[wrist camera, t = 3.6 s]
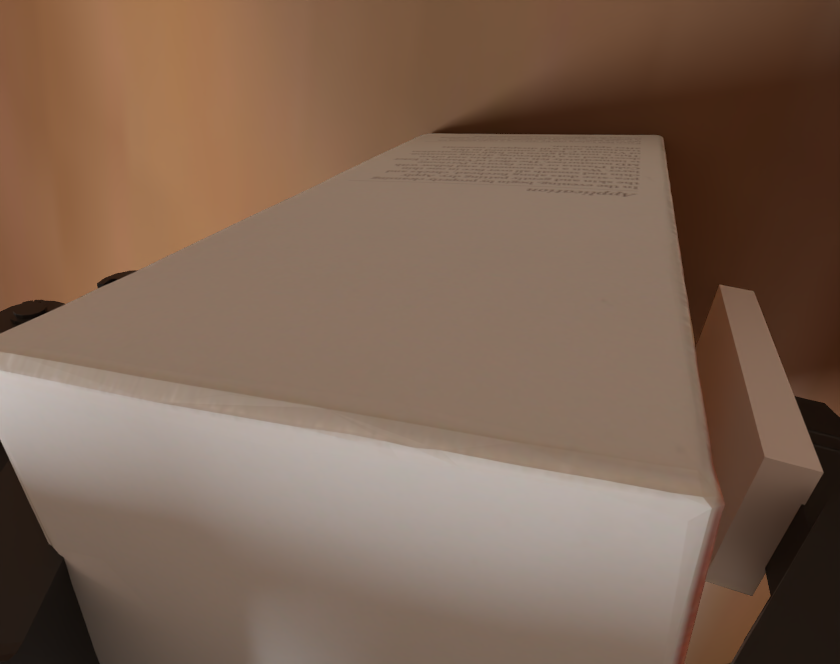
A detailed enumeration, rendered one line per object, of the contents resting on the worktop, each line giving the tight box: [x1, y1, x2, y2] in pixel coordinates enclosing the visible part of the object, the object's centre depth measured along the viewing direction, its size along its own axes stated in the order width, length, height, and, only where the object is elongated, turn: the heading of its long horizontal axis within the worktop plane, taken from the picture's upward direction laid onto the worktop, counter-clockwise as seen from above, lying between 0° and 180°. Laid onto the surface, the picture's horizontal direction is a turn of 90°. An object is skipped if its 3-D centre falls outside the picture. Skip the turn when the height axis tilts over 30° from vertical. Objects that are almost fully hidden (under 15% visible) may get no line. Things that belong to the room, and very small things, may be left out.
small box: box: [0, 133, 725, 664], centre depth 11 cm, size 8×6×13 cm
